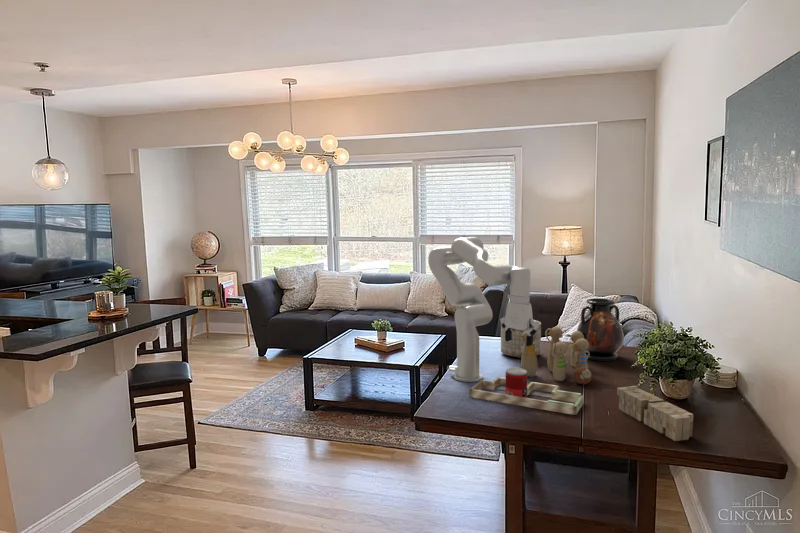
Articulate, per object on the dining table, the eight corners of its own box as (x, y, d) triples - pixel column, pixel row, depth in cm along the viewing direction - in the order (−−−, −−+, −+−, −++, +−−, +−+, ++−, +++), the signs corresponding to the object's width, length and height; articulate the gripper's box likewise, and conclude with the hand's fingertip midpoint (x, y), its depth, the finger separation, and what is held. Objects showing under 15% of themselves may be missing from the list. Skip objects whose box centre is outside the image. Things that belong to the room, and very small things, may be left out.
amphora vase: (608, 350, 272) (609, 296, 269) (632, 362, 250) (634, 303, 247) (568, 352, 269) (569, 297, 266) (588, 364, 247) (590, 304, 245)
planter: (545, 360, 256) (545, 326, 254) (504, 360, 256) (504, 326, 254) (535, 349, 275) (535, 318, 273) (497, 350, 275) (498, 318, 274)
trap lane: (469, 396, 206) (469, 387, 206) (487, 382, 224) (487, 373, 223) (576, 415, 187) (576, 405, 186) (587, 397, 204) (587, 388, 204)
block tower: (695, 442, 167) (635, 406, 195) (697, 416, 166) (636, 384, 194) (673, 444, 165) (615, 408, 193) (675, 418, 164) (617, 385, 192)
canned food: (527, 402, 199) (527, 374, 198) (505, 401, 201) (505, 373, 200) (526, 395, 207) (526, 368, 206) (505, 394, 209) (505, 367, 207)
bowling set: (562, 393, 209) (563, 342, 207) (515, 376, 232) (515, 330, 230) (624, 377, 229) (626, 330, 227) (575, 362, 251) (576, 320, 249)
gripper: (495, 297, 208) (494, 340, 210) (533, 303, 196) (532, 349, 198) (507, 295, 213) (506, 337, 215) (544, 301, 201) (543, 345, 203)
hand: (518, 343), depth 206 cm, fingers open, 9 cm apart
